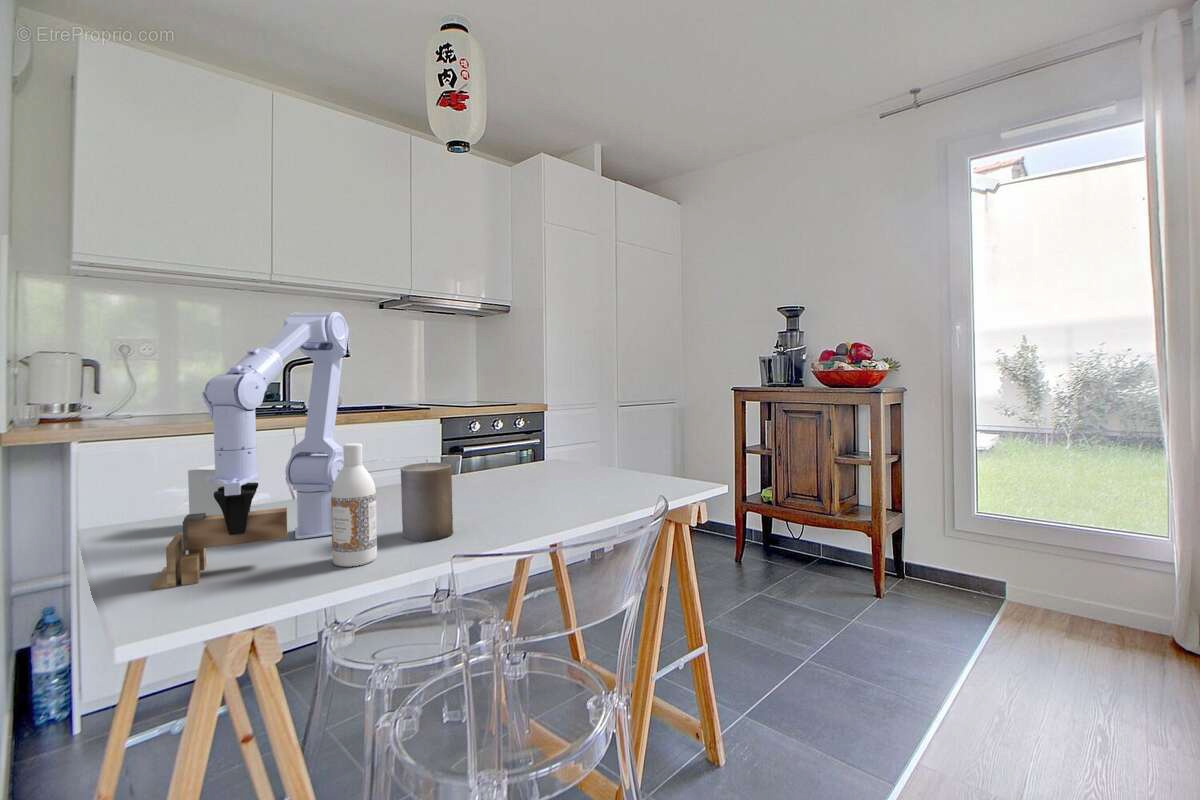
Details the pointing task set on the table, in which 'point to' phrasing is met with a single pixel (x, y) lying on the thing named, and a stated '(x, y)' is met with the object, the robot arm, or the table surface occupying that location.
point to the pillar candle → (426, 501)
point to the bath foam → (353, 512)
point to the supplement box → (203, 491)
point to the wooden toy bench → (180, 565)
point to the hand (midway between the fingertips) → (238, 531)
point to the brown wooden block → (215, 534)
